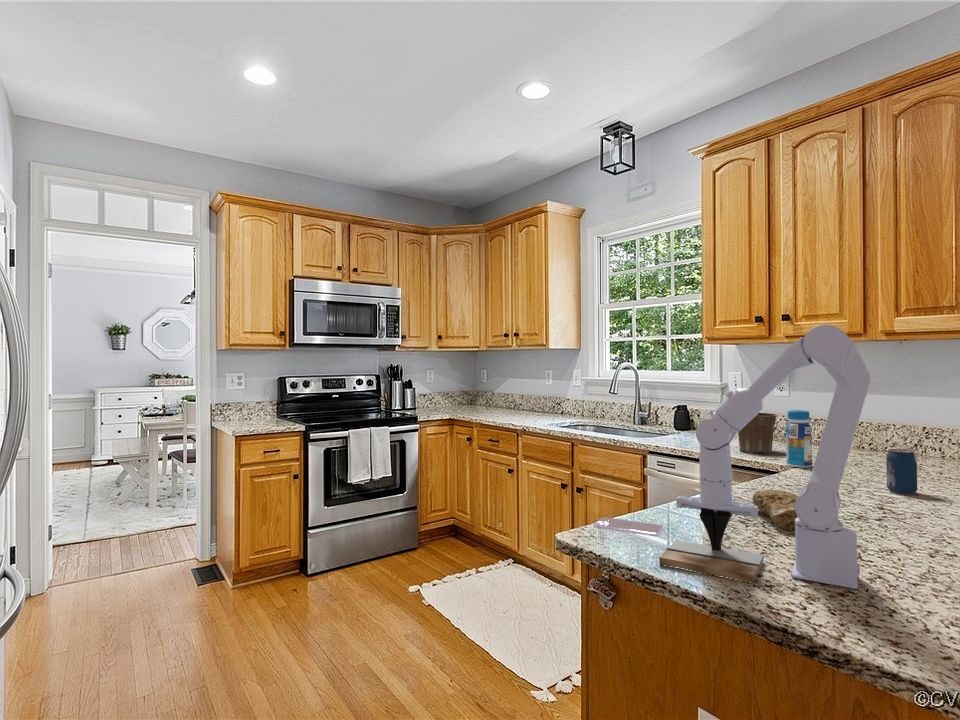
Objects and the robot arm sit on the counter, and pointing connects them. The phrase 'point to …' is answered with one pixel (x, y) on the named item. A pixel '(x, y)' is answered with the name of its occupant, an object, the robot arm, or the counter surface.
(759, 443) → the plant pot
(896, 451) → the soda can
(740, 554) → the grey plank
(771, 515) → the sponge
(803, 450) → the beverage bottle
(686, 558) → the walnut board
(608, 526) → the mobile phone
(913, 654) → the counter surface
